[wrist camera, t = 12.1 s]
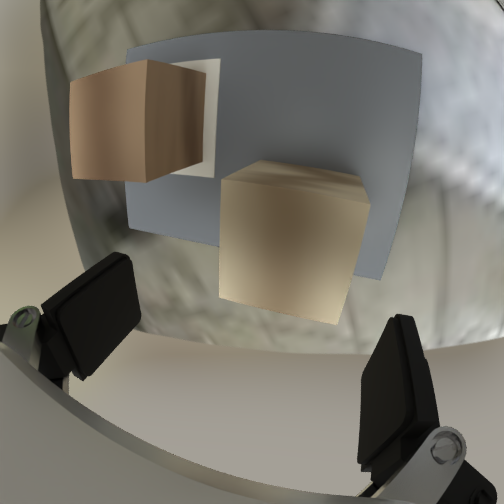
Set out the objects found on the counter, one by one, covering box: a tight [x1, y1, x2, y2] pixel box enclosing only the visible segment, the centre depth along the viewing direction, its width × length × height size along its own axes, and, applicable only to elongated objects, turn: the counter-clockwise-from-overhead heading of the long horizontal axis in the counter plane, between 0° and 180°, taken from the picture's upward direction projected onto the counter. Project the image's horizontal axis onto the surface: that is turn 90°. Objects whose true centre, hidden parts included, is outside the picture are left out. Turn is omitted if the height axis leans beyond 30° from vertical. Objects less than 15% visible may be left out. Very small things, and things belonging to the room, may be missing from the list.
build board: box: [125, 30, 422, 280], centre depth 16 cm, size 20×15×1 cm
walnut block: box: [70, 59, 206, 183], centre depth 14 cm, size 6×6×6 cm
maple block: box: [219, 160, 371, 325], centre depth 14 cm, size 6×6×6 cm
